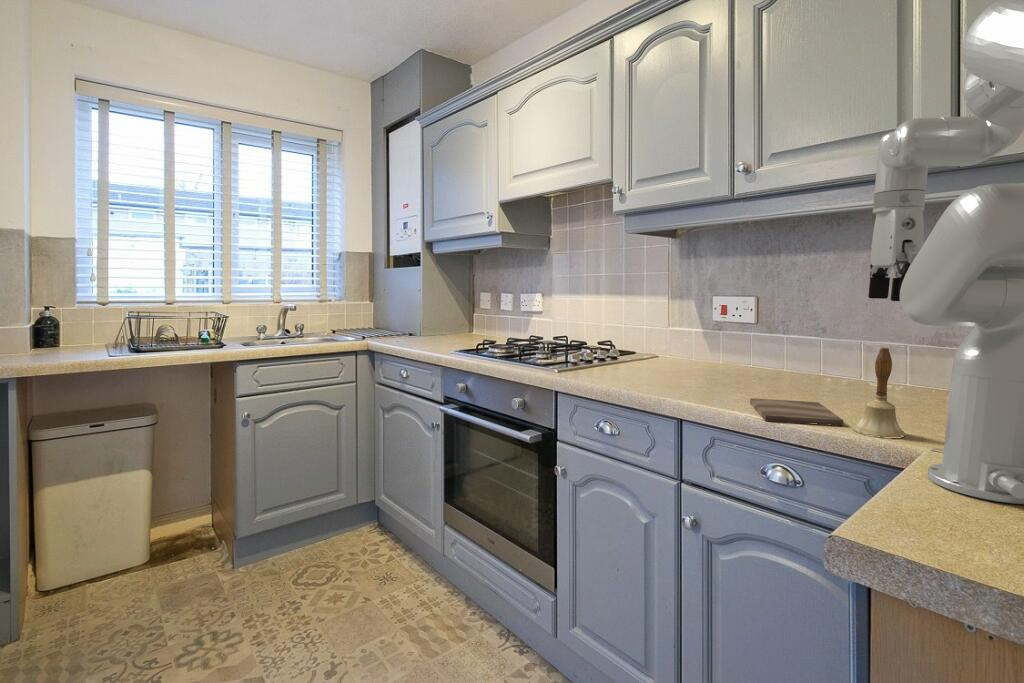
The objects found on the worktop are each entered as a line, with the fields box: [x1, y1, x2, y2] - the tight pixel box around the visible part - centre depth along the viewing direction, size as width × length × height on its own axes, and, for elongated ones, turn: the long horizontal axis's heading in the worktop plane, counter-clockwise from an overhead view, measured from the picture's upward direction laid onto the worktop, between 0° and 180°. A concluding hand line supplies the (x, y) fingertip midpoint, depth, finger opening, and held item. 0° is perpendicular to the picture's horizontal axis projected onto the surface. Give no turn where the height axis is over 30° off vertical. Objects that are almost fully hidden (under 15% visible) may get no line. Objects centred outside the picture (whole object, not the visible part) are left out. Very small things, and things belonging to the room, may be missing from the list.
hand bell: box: [851, 347, 906, 437], centre depth 101 cm, size 8×8×16 cm
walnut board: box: [749, 397, 844, 426], centre depth 116 cm, size 16×14×1 cm
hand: (889, 299), depth 100 cm, fingers open, 9 cm apart
